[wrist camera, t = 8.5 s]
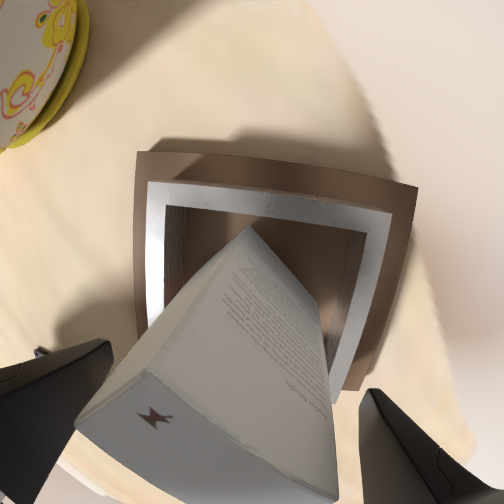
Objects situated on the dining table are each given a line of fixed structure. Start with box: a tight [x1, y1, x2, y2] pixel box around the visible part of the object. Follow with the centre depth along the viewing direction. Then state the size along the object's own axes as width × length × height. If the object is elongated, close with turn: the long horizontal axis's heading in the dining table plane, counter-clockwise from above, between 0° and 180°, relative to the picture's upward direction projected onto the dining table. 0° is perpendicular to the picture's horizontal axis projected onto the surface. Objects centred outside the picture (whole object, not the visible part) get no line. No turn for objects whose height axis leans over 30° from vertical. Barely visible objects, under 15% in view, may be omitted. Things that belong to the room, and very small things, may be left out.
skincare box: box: [74, 226, 339, 504], centre depth 11 cm, size 6×4×12 cm
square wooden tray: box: [133, 151, 418, 391], centre depth 17 cm, size 16×14×1 cm
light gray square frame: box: [146, 179, 392, 404], centre depth 15 cm, size 11×11×3 cm
